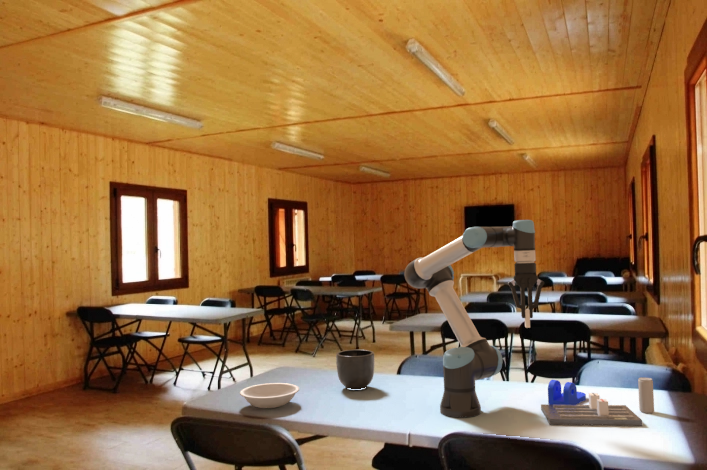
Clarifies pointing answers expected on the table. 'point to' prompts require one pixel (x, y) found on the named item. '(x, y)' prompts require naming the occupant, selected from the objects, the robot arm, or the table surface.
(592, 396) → the fader
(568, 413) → the console
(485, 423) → the table surface
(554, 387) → the bracket
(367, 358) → the planter
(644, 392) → the beverage can
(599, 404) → the fader
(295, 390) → the soup bowl
